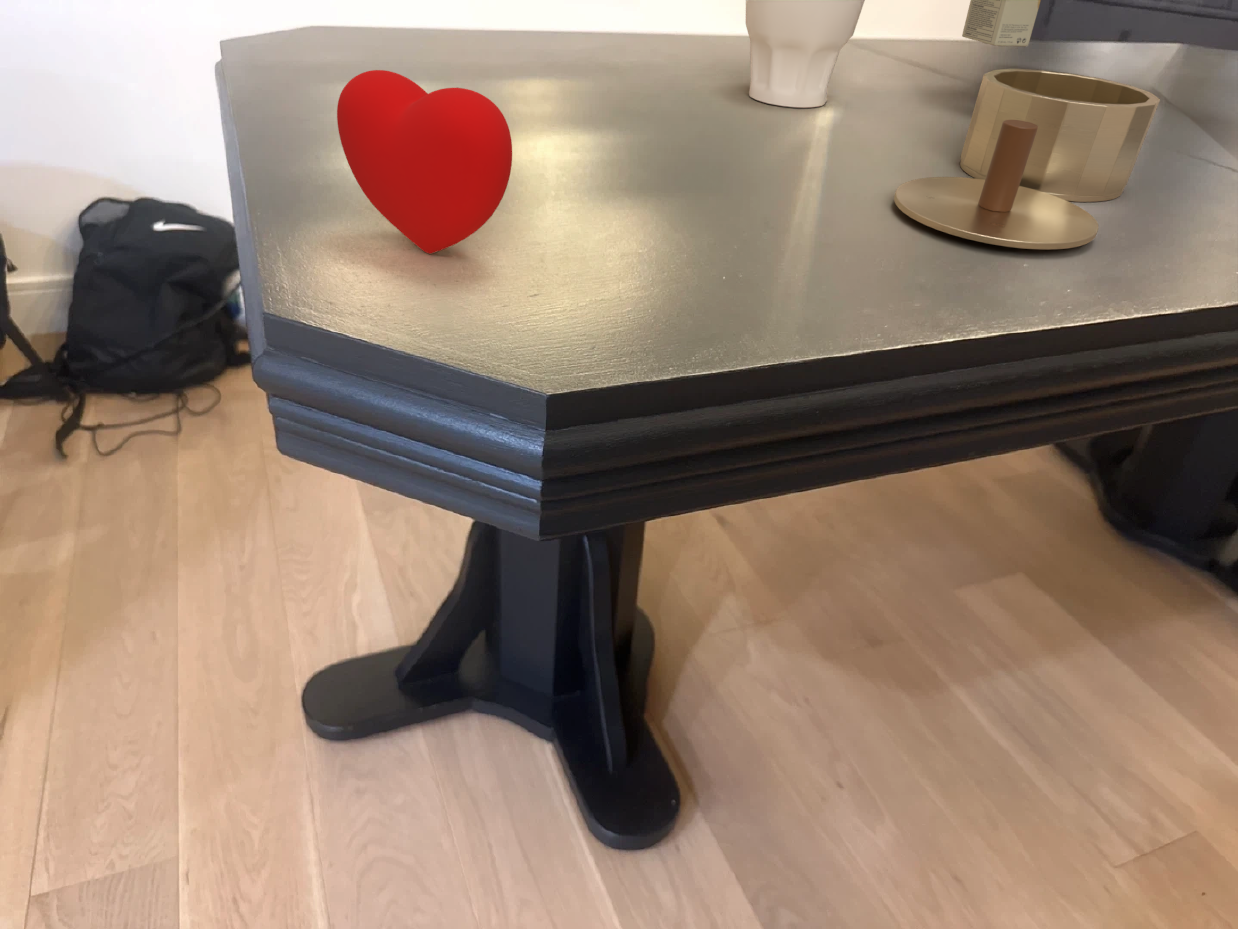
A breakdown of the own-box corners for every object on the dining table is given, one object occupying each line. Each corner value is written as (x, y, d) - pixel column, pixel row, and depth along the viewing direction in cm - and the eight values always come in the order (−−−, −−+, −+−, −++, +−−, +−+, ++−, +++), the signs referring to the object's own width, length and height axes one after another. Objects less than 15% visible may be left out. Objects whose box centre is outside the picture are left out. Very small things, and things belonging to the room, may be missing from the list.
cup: (721, 102, 93) (736, -16, 87) (739, 80, 103) (754, -27, 97) (840, 118, 91) (864, -2, 84) (847, 94, 101) (869, -15, 94)
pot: (1134, 177, 80) (1169, 89, 75) (1107, 213, 70) (1145, 115, 66) (983, 145, 86) (1008, 62, 81) (940, 175, 76) (965, 82, 72)
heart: (532, 264, 54) (534, 91, 48) (475, 292, 50) (470, 107, 44) (390, 219, 59) (377, 56, 53) (328, 241, 55) (306, 68, 49)
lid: (1109, 221, 69) (1146, 126, 65) (1070, 275, 58) (1111, 167, 54) (927, 178, 75) (950, 89, 71) (863, 220, 65) (886, 120, 61)
